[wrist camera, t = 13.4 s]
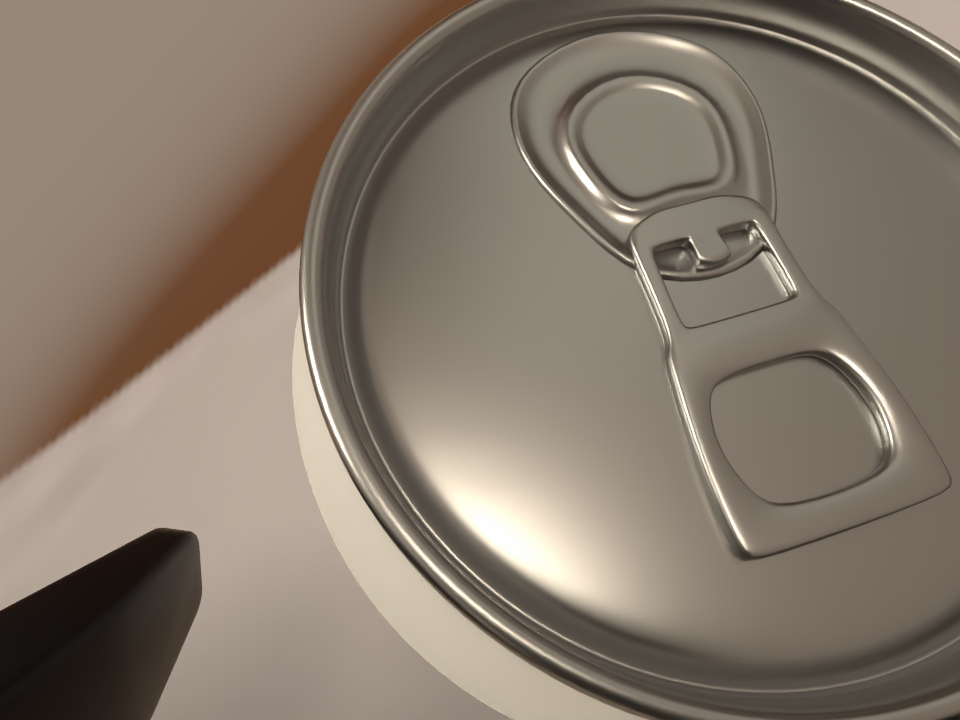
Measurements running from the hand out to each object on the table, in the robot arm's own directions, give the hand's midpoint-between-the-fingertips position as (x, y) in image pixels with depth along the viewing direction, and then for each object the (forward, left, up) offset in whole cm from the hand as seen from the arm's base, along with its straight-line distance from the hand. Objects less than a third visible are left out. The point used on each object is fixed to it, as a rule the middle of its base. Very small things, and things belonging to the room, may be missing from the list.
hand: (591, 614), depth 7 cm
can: (+2, -1, -8) cm, 8 cm away
